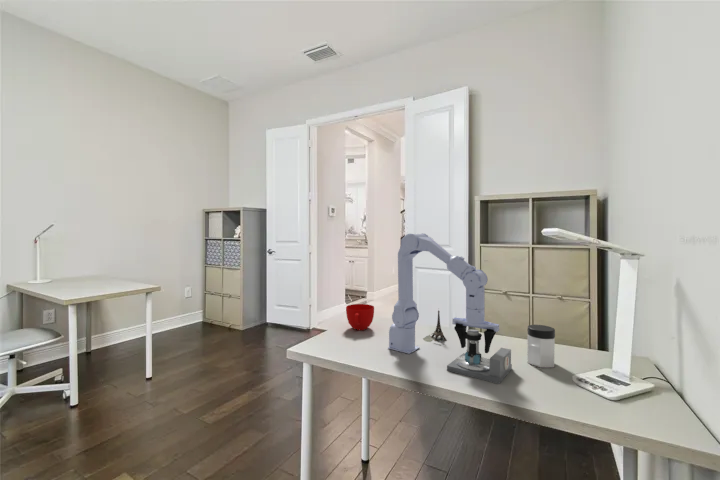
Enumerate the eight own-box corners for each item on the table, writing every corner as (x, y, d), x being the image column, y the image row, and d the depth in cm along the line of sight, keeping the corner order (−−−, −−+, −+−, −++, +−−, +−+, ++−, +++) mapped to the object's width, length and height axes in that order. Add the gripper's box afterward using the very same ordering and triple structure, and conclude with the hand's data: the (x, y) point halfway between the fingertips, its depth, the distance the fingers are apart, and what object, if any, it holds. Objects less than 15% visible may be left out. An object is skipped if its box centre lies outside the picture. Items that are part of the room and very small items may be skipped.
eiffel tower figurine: (434, 333, 149) (434, 303, 149) (456, 337, 143) (456, 306, 143) (418, 342, 138) (418, 309, 137) (441, 347, 131) (441, 313, 131)
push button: (487, 361, 110) (488, 331, 109) (482, 366, 105) (483, 335, 105) (467, 357, 114) (467, 327, 113) (462, 362, 109) (462, 331, 109)
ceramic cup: (341, 334, 146) (341, 311, 146) (349, 324, 163) (349, 303, 163) (371, 335, 144) (371, 312, 144) (375, 325, 161) (375, 304, 160)
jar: (547, 358, 118) (547, 324, 117) (561, 368, 109) (561, 331, 109) (521, 358, 118) (522, 324, 117) (533, 367, 110) (533, 331, 109)
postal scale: (446, 370, 108) (447, 350, 108) (463, 357, 119) (463, 339, 119) (500, 384, 98) (501, 362, 97) (513, 369, 109) (513, 349, 108)
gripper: (502, 308, 108) (501, 351, 108) (458, 302, 116) (458, 342, 117) (495, 312, 102) (495, 357, 102) (449, 306, 111) (449, 347, 111)
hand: (474, 349), depth 109 cm, fingers open, 7 cm apart
